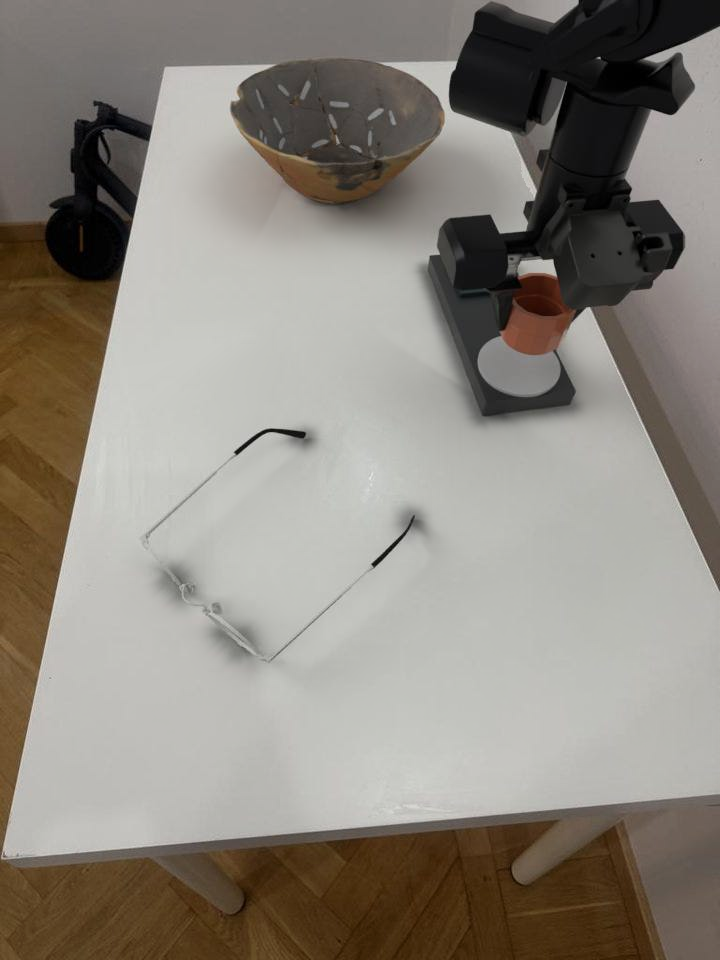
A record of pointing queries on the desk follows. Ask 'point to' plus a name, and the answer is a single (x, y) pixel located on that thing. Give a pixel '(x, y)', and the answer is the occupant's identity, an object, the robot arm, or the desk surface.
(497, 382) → the scale
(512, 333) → the terracotta cup
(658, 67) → the robot arm
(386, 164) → the bowl
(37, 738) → the desk surface
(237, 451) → the eyeglasses
